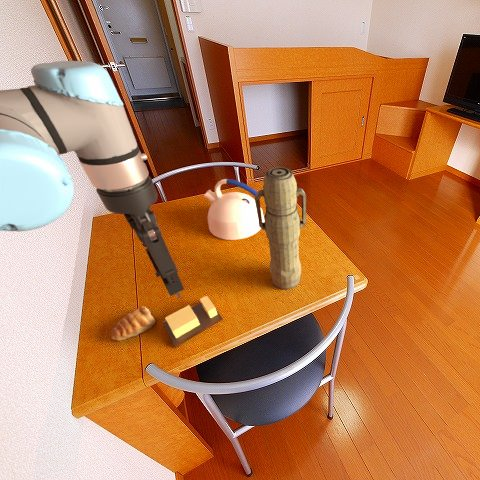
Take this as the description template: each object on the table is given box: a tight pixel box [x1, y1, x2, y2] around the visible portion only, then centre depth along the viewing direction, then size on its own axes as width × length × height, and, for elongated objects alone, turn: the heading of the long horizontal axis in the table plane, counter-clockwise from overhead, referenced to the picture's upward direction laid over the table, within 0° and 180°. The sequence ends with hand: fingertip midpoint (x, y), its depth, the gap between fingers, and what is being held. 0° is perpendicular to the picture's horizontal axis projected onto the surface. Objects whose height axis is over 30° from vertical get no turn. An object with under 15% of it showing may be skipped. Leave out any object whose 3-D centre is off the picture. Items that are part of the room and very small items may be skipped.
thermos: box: [254, 166, 307, 291], centre depth 72 cm, size 9×12×35 cm
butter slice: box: [199, 295, 218, 318], centre depth 71 cm, size 2×5×3 cm, turn 41°
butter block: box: [164, 304, 200, 338], centre depth 68 cm, size 6×5×3 cm
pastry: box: [109, 306, 156, 342], centre depth 68 cm, size 9×7×4 cm
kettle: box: [203, 178, 265, 241], centre depth 97 cm, size 20×21×18 cm
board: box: [162, 302, 223, 348], centre depth 70 cm, size 12×8×1 cm, turn 131°
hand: (169, 280), depth 57 cm, fingers closed on cutter, 7 cm apart
